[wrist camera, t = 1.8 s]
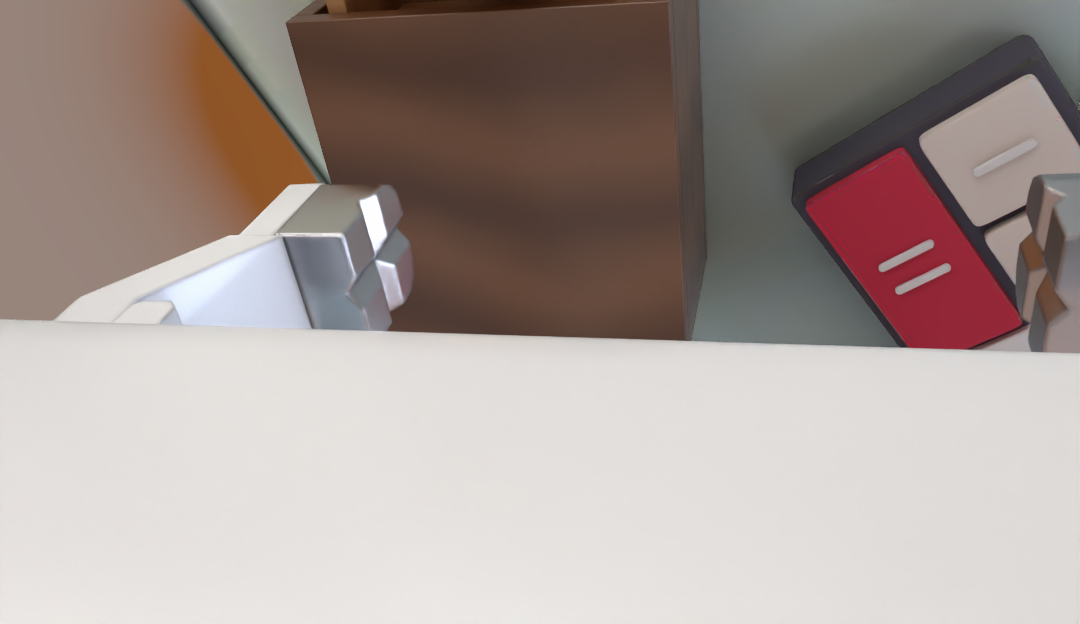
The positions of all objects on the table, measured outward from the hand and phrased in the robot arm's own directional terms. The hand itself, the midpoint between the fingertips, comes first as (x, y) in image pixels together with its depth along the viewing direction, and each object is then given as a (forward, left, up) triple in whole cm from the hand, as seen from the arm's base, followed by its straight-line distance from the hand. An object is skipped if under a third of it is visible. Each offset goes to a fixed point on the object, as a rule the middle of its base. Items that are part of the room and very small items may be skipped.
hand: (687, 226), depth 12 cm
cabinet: (+11, -10, -30) cm, 33 cm away
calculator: (+17, +10, -30) cm, 36 cm away
